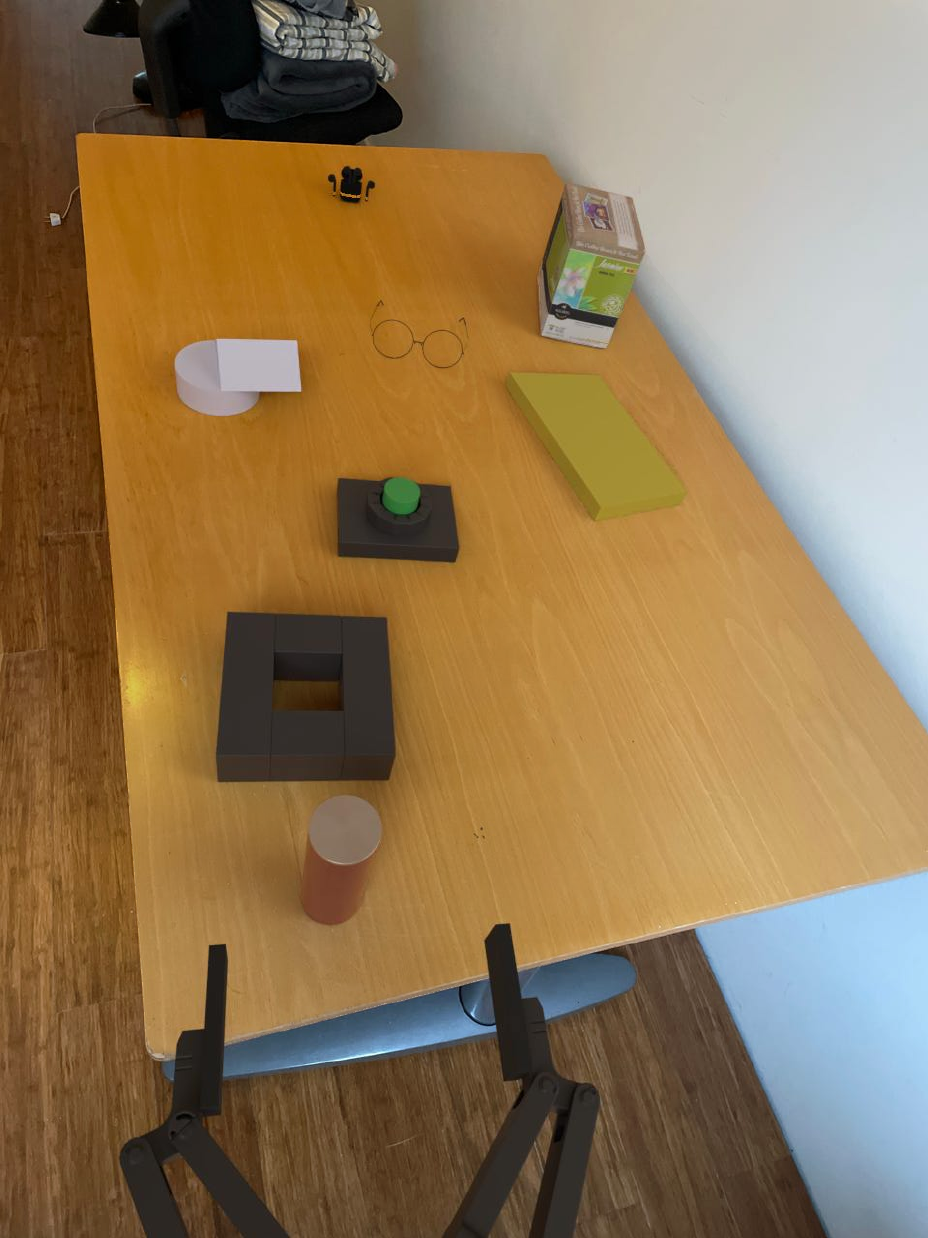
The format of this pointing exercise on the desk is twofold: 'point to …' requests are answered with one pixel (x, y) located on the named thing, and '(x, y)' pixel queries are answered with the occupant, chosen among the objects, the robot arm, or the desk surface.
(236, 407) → the wedge on round base
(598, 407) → the flat olive board
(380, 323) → the eyeglasses
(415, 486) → the button
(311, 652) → the square peg hole block
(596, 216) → the tea box
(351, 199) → the wireless earbuds
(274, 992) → the desk surface
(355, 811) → the dark red cylinder
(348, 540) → the panel
